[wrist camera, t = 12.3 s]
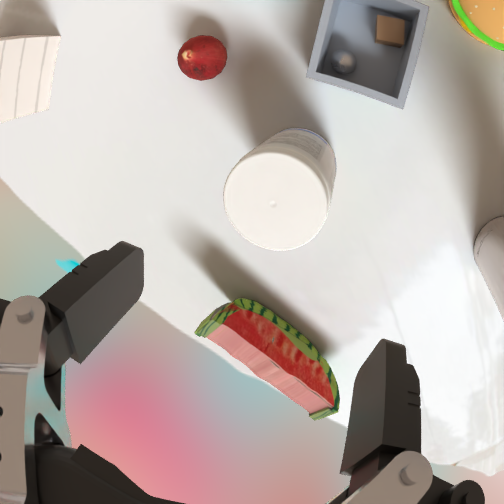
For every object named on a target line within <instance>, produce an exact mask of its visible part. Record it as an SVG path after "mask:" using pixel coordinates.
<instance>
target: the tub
mask: <svg viewBox="0 0 504 504" xmlns="http://www.w3.org/2000/svg"><path fill="white" fill-rule="evenodd" d="M428 10H429V6H426V5H424V4H421V3H419V2H416V1H414V0H325V2H324V6H323V10H322V14H321V18H320V23H319V27H318V31H317V35H316V39H315V43H314V47H313V51H312V55H311V59H310V63H309V67H308V71H307V75H306V77H307V78H310V79H313V80H317V81H321V82H324V83H328V84H331V85H334V86H338V87H341V88H344V89H347V90H350V91H353V92H356V93H359V94H362V95H365V96H368V97H371V98H374V99H376V100H379V101H382V102H385V103H387V104H390V105H392V106H395V107H398V108H401V109H403V108H404V105H405V101H406V98H407V94H408V91H409V88H410V84H411V80H412V77H413V73H414V69H415V66H416V62H417V58H418V54H419V50H420V46H421V42H422V37H423V33H424V28H425V24H426V19H427V15H428ZM377 15H381V16H387V17H392V18H397V19H402V20H405V27H404V45H403V46H402V47H401V48H398V47H393V46H388V45H383V44H377V43H375V25H376V18H377ZM340 49H345V50H348V51H350V52H352V53H353V54H354V56H355V57H356V61H357V64H356V69H355V71H354V72H353V73H351V74H349V75H342V74H339V73H338V72H336V71H335V69H334V68H333V67H332V65H331V56H332V54H333V53H334V52H335V51H337V50H340Z"/></svg>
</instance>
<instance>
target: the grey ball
mask: <svg viewBox="0 0 504 504" xmlns="http://www.w3.org/2000/svg"><path fill="white" fill-rule="evenodd" d="M356 64H357V61H356V57H355V56H354V54H353V53H352V52H350V51H348V50H345V49H340V50H337V51H335V52H334V53H333V54H332V56H331V65H332V67H333V68H334V69H335V71H336V72H338V73H339V74H342V75H349V74H351V73H353V72H354V71H355V69H356Z"/></svg>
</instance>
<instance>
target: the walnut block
mask: <svg viewBox="0 0 504 504" xmlns="http://www.w3.org/2000/svg"><path fill="white" fill-rule="evenodd" d="M404 27H405V20H402V19H397V18H392V17H387V16H381V15H377V18H376V25H375V43H377V44H383V45H388V46H393V47H398V48H401V47H402V46H403V45H404Z"/></svg>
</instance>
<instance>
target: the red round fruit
mask: <svg viewBox="0 0 504 504" xmlns="http://www.w3.org/2000/svg"><path fill="white" fill-rule="evenodd" d="M177 59H178V65H179V67H180V69H181V71H182V72H183V73H184V74H185V75H187V76H188V77H189V78H192V79H196V80H200V81H202V80H207V79H212V78H214V77H215V76H217V75H218V74H220V73H221V72H222V70H223V68H224V67H225V65H226V60H227V53H226V48H225V47H224V45H223V44H222V42H221V41H219V40H218V39H216V38H214V37H212V36H205V35H200V36H197V37H194V38H191V39H189V40H188V41H187V42H185V43H184V44H183V46H182V47H181V49H180V50H179V53H178V57H177Z"/></svg>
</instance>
